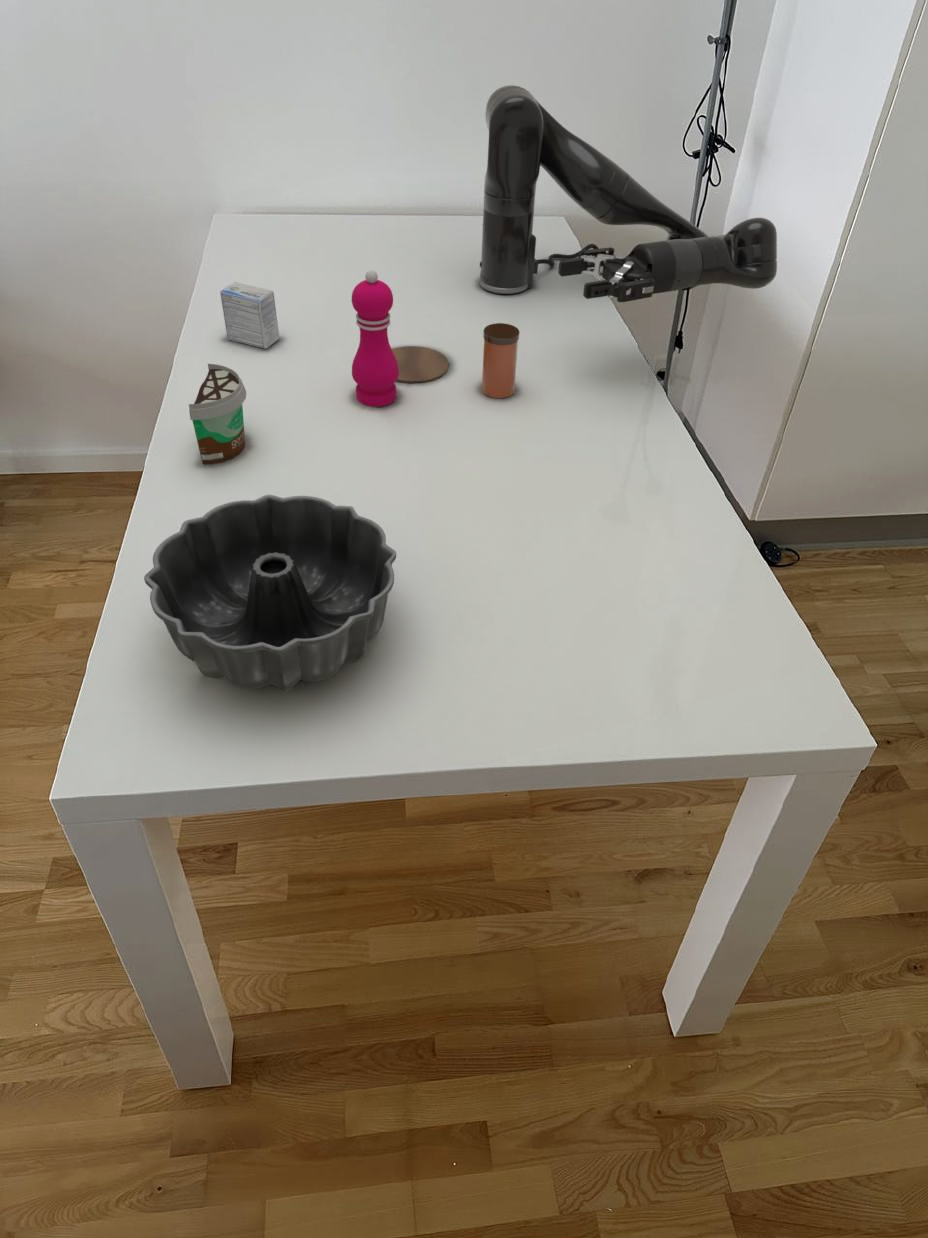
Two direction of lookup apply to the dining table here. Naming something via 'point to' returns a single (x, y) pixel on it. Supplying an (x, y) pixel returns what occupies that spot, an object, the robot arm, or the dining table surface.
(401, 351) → the cork coaster
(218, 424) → the food container
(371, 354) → the pepper mill
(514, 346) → the spice jar
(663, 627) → the dining table surface
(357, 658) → the bundt pan
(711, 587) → the dining table surface
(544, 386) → the dining table surface
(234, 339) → the medicine box
